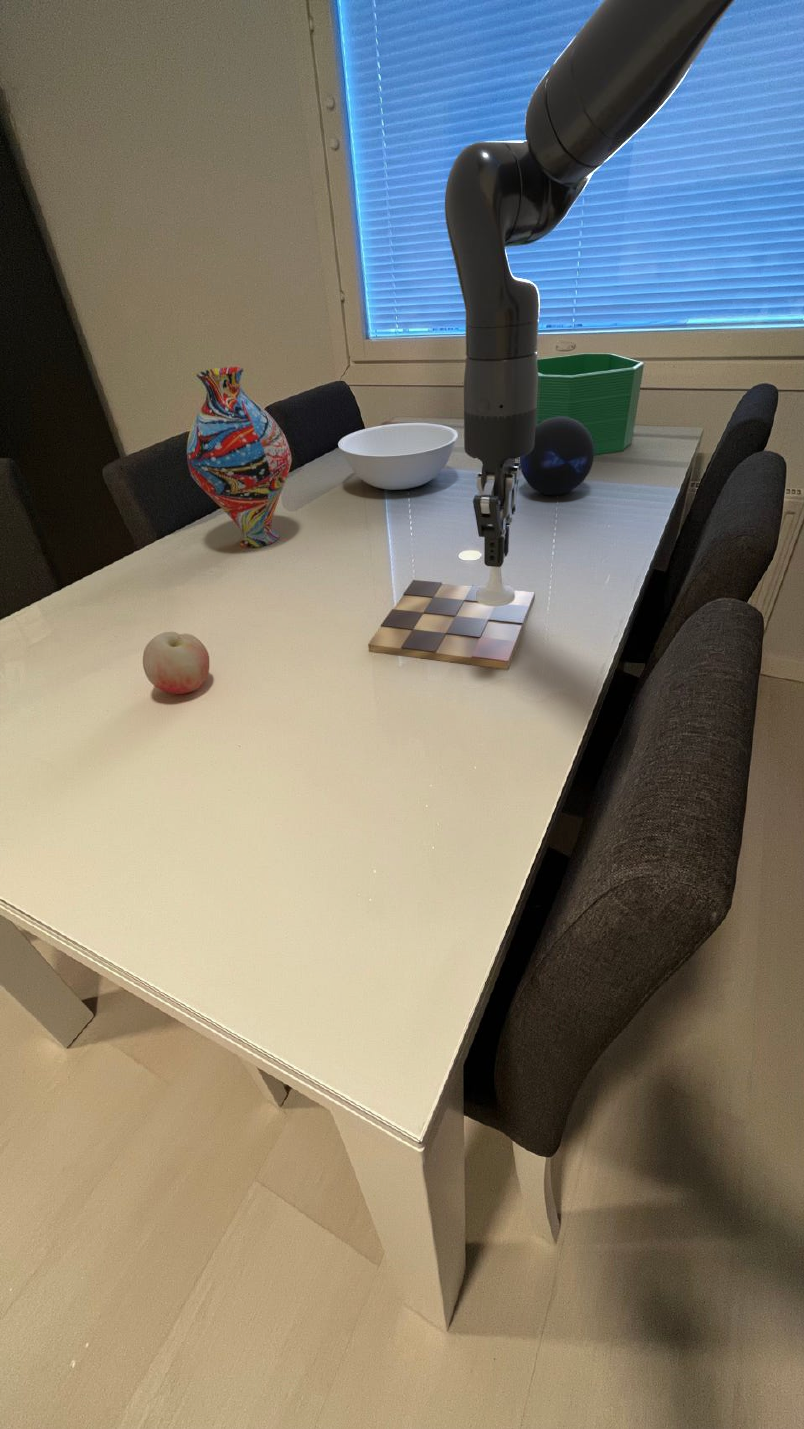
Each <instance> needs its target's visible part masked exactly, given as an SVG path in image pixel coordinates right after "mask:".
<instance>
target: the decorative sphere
mask: <svg viewBox="0 0 804 1429" xmlns="http://www.w3.org/2000/svg"><path fill="white" fill-rule="evenodd" d="M594 459H595V455H594V444H593V440H592V437H591V435H590V433H589V432H588V430H587V429H586V428H585V427H584V426H583V425H582V424H581V423H580V422H578V421H577V420H574V419H572V418H569V417H552V418H549V419H546V420H544V421H542V422H541V423H539V424H538V425H536V426H535V444H534V448H533V450H532V451H531V452H530V453H529V454H527V455H525V456H523V457H520V458H519V462H520V465H521V469H520V472H521V474H522V476H523V478H524V479H525V482H527V484H528V485H529V486H530V487H531V488H532V489H533V490H535V491H537V492H538V493H541V494H544V495H549V496H559V495H564V494H566V493H569V492H572V491H573V490H574V489H576V488H578V486H580V485H581V484H583V482H584V481H585V479H586V478H587V477H588V475H589V474H590V472H591V470H592V467H593V465H594Z"/></svg>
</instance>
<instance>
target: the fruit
mask: <svg viewBox="0 0 804 1429" xmlns="http://www.w3.org/2000/svg"><path fill="white" fill-rule="evenodd" d="M142 654H143V655H142V668H143V671H144V674H145V676H146V678H147V679H148V680H147V681H149V682H150V684H152V685H153V686H154V687H155V688H157V689H158V690H160V691H162V692H164V693H167V694H172V695H173V694H174V695H183V694H188V693H192V692H194V691H196V690H198V689H199V688H201V686H202V685H203V684H204V683H205V681H206V679H207V677H208V675H209V671H210V665H211V664H210V655H209V651H208V650H207V647H206V645H205V644H204V643H203V642H202V641H201V640H200V639H199V638H198V637H197V636H194V635H193V634H190V633H179V632H175V631H165V632H162V633H159V634H157V635H156V636H154V637H153V638H152V639H150V640H149V641H148V643H147V644H146V646H145V647H144V650H143V653H142Z"/></svg>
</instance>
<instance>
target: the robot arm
mask: <svg viewBox="0 0 804 1429" xmlns="http://www.w3.org/2000/svg"><path fill="white" fill-rule="evenodd" d="M735 1H736V0H603V1H602V3H601V4H600V5H599V6H598V7H597V9H596V10H595V11H594V12H593V14H592V15H591V16H590V17H589V18H588V20H587V21H586V22H585V23H584V25H583V26H582V27H581V29H580V30H579V31H578V32H577V34H576V35H575V36H574V37H573V39H572V40H571V41H570V42H569V44H568V45H567V46H566V48H564V50H563V51H562V53H561V54H560V55H559V56H558V57H557V59H556V60H555V61H554V63H553V64H552V65H551V66H550V68H549V69H548V70H547V72H546V73H545V75H544V76H543V77H542V78H541V80H540V81H539V83H538V84H537V86H536V88H535V90H534V91H533V93H532V94H531V97H530V99H529V101H528V105H527V108H526V112H525V117H524V118H525V119H524V132H525V133H524V134H525V139H526V140H507V141H506V140H504V141H502V140H501V141H497V140H496V141H495V140H494V141H478V142H474V143H472V144H469V145H467V146H466V147H464V148H463V149H462V150H461V151H460V152H459V153H458V155H457V157H456V158H455V160H454V162H453V164H452V166H451V167H450V168H451V169H450V171H449V173H448V177H447V182H446V187H445V195H444V216H445V225H446V230H447V235H448V239H449V244H450V248H451V253H452V256H453V261H454V265H455V270H456V273H457V278H458V283H459V287H460V291H461V296H462V300H463V304H464V310H465V365H464V366H465V368H464V375H463V448H464V452H465V454H466V455H467V456H469V457H470V458H472V459H478V460H479V461H480V462H481V464H482V466H481V472H478V473H477V479H476V480H477V481H476V488H477V490H478V494H474V497H473V498H472V504H473V509H474V516H475V522H476V527H477V535H478V537H479V538H484V544H483V547H484V550H483V552H484V554H483V555H484V558H483V561H484V565H485V566H486V567H491V566H492V567H500V568H501V567H502V566H503V564H504V561H505V558H506V557H507V556H508V555H509V550H510V548H509V547H510V526H511V525H512V522H513V515H514V514H515V512H516V509H517V508H516V502H517V495H518V487H519V486H518V485H519V478H520V472H521V465H520V461H516V459H520V457H523V456H525V455H527V454H529V453H530V452H531V451H532V450H533V448H534V444H535V426H536V409H537V391H538V367H537V359H538V342H539V340H538V339H539V323H540V322H539V321H540V292H539V289H538V287H537V285H536V284H535V283H533V282H532V281H530V280H528V279H524V278H519V277H515V276H514V275H513V274H512V271H511V268H510V264H509V260H508V256H507V250H506V248H509V247H519V246H526V245H530V244H533V243H536V242H538V241H540V240H541V239H542V238H544V237H545V236H547V235H549V234H550V233H552V231H553V230H554V229H555V228H557V227H558V226H559V225H560V224H561V222H562V221H563V220H564V219H565V217H567V215H568V213H569V211H570V210H571V209H572V207H573V205H574V204H575V203H576V201H577V200H578V198H579V196H580V195H581V194H582V193H583V191H584V189H585V187H586V186H587V184H588V183H589V181H590V179H591V178H592V175H593V174H594V172H596V171H597V170H598V169H599V168H601V167H602V165H603V164H605V163H606V162H607V161H608V160H610V158H611V157H613V155H614V154H616V152H618V151H619V150H620V149H621V148H622V147H623V146H624V145H626V143H627V142H628V141H630V139H632V137H634V135H636V134H637V133H638V132H639V131H640V130H641V129H642V128H643V127H644V126H645V125H646V124H647V123H648V122H649V121H650V120H651V119H652V118H653V117H654V116H655V115H656V114H657V113H658V111H659V110H660V109H661V108H662V107H663V106H664V105H665V104H666V102H667V101H668V100H669V98H671V96H672V95H673V94H674V92H675V91H676V89H678V87H679V86H680V84H681V83H682V81H683V80H684V78H686V75H687V74H688V72H690V69H691V67H692V66H693V65H694V63H695V61H696V60H697V58H698V57H699V55H700V53H701V52H702V50H703V48H704V47H705V45H706V44H707V42H708V40H709V38H710V36H711V35H712V34H713V32H714V31H715V29H716V28H717V26H718V24H719V23H720V21H721V20H722V18H723V17H724V16H725V15H726V13H727V12H728V10H729V9H730V8H731V7H732V5H734V2H735ZM504 535H505V540H504ZM504 554H505V557H504Z"/></svg>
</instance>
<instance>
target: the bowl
mask: <svg viewBox="0 0 804 1429" xmlns="http://www.w3.org/2000/svg"><path fill="white" fill-rule="evenodd" d="M458 437H459V433H458V431H457V430H456V429H454V428H452V427H450V426H447V425H442V424H436V423H430V422H429V423H428V422H427V423H426V422H407V423H406V422H404V423H391V424H384V425H378V426H372V427H367V428H363V429H360V430H356V431H354V432H351V433H349V434H346V435H345V436H343V437H342V438H341V439H340V440H339V441H338V443H337V446H338V448H339V449H340V450H341V451H342V453H343V455H344V458H345V460H346V462H347V464H348V465H349V467H350V469H351V470H352V471H353V473H354V474H355V475H356V476H357V477H358V478H359V479H361V480H362V481H363V482H364V483H366V484H368V485H370V486H372V487H374V488H378V489H381V490H389V491H390V490H391V491H400V490H408V489H413V488H417V487H421V486H423V485H425V484H427V483H430V481H432V480H434V479H435V478H436V477H437V476H438V475H440V473H441V472H442V471H443V470H444V468H445V467H446V465H447V463H448V462H449V459H450V457H451V456H452V453H453V449H454V447H455V446H454V445H455V441H457V439H458Z"/></svg>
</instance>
